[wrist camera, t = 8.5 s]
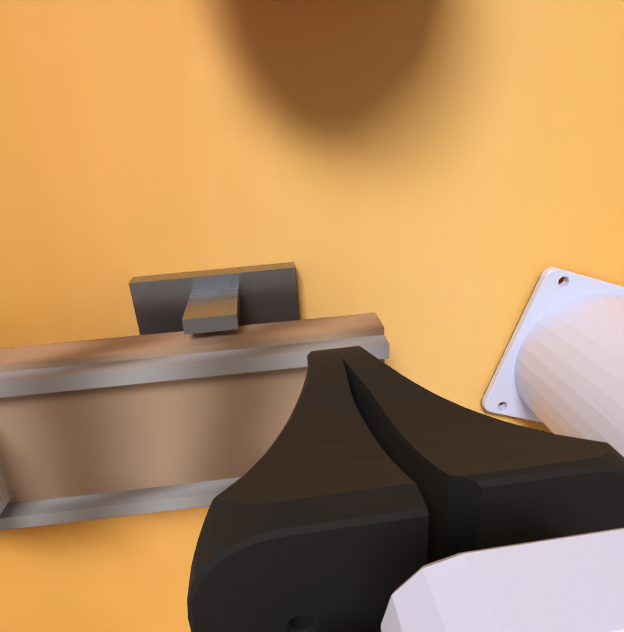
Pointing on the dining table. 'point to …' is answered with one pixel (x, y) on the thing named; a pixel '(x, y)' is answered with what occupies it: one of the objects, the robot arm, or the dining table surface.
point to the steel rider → (4, 488)
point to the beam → (152, 415)
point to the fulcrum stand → (215, 299)
